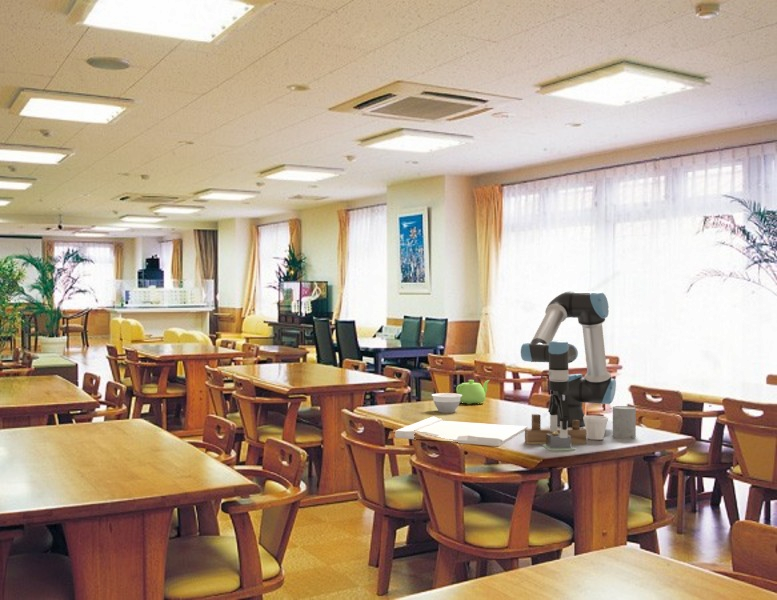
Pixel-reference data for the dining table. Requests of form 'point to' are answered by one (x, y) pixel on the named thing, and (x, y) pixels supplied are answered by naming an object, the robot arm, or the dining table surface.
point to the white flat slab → (462, 431)
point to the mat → (557, 448)
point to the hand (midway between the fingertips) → (558, 434)
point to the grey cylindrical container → (624, 422)
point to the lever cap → (557, 440)
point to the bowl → (446, 401)
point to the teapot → (472, 392)
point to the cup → (595, 426)
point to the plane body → (539, 434)
